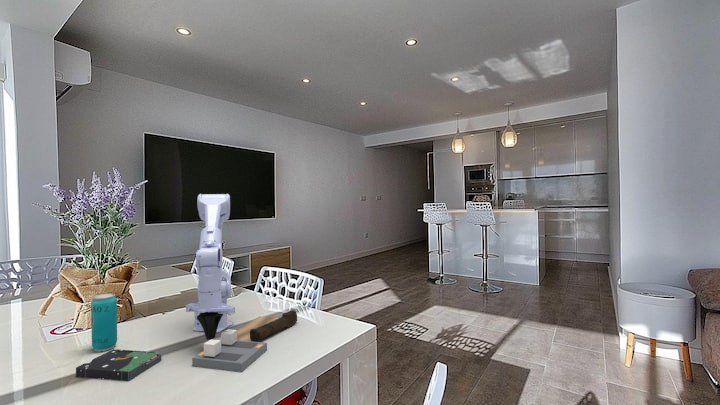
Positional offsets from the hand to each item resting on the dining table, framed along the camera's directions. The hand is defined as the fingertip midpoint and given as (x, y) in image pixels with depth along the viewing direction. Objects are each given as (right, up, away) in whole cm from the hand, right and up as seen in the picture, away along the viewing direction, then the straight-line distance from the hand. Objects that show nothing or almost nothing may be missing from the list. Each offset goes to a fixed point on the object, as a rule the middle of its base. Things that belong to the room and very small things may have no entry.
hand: (210, 338), depth 93 cm
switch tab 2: (+6, -1, -1) cm, 6 cm away
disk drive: (-18, -4, -10) cm, 21 cm away
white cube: (+4, -1, -8) cm, 9 cm away
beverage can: (-31, -4, +1) cm, 31 cm away
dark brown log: (+15, -3, +12) cm, 19 cm away
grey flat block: (+8, -3, -5) cm, 10 cm away
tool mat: (+7, -3, +14) cm, 16 cm away
